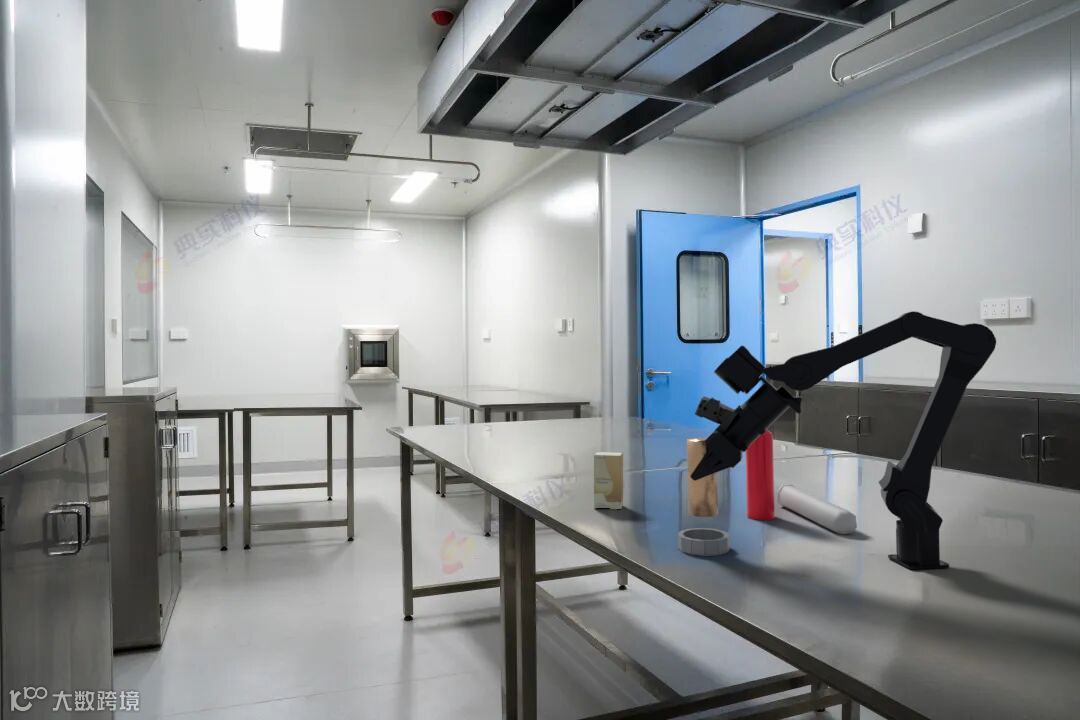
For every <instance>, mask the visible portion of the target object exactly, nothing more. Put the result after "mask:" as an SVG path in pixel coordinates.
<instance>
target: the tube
mask: <svg viewBox="0 0 1080 720" xmlns="http://www.w3.org/2000/svg"><path fill="white" fill-rule="evenodd" d="M776 503H777V504H778V505H780V506H782V507H783V508H786V509H789V510H791V511H792V512H795V513H796V514H799V515H800V516H803V517H805V518H806V519H808V520H810V521H813V522H815V523H816V524H818V525H820V526H823V527H825V528H826V529H828V530H830V531H832V532H834V533H836V534H839V535H851V534H852V533H853V532H854V531H855V530H856V529H857V528H858V526H857V525H858V524H857V516H856V515H855V514H854V513H852V512H851V511H850V510H848V509H846V508H844V507H841V506H839V505H838V504H837V505H836V504H835V503H832V502H830V501H828V500H826V499H823V498H821V497H819V496H816V495H815V494H812V493H809V492H807V491H805V490H802V489H801V488H798V487H796V486H795V485H793V484H791V483H790V484H781V485H780V487H779V489H778V490H777V492H776Z"/></svg>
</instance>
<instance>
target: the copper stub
mask: <svg viewBox="0 0 1080 720" xmlns="http://www.w3.org/2000/svg"><path fill="white" fill-rule="evenodd" d="M707 438H708V437H694V438H687V439H686V459H687V492H688V497H687V499H688V514H689V515H690V516H693V517H698V518H699V517H700V518H701V517H702V518H709V517H711V518H712V517H716V516H718V514H719V506H718V505H719V504H718V502H719V500H718V496H719V495H718V472H716V473H714V474H711V475H708V476H706V477H703V478H701V479H698V480H696V481H694V480H693V479H692V478H691V477H690V476H691V474H692V473H693V471H694V470H695V468H696V467H697V465H698V464H699V462H700V461H701V459H702V458H703V456H704V455H705V453H706V446H705V440H706V439H707Z"/></svg>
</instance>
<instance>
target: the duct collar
mask: <svg viewBox="0 0 1080 720" xmlns="http://www.w3.org/2000/svg"><path fill="white" fill-rule="evenodd" d="M730 536H731V535H730V533H728V532H727V531H724V530H719V529H718V528H717V529H716V528H707V527H698V528H697V527H696V528H694V527H693V528H686V529H682V530H680V531H679V532H678V533H677V547H678V550H680V552H682V553H685V554H688V555H693V556H701V557H702V556H703V557H706V556H707V557H708V556H709V557H710V556H712V557H713V556H720V555H724V554H727V553H729V551H730V549H731V544H730V543H731V541H730V540H731V537H730Z"/></svg>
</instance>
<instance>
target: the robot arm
mask: <svg viewBox="0 0 1080 720" xmlns="http://www.w3.org/2000/svg"><path fill="white" fill-rule="evenodd" d="M911 338H914V339H918V340H920V341H923V342H926V343H928V344H932V345H934V346H937V347H941V348H942V350H941V356H940V362H939V363H940V364H939V371H938V376H937V379H936V382H935V384H934V387H933V389H932V391H931V393H930V395H929V398H928V400H927V402H926V406H925V408H924V410H923V412H922V415H921V417H920V420H919V422H918V424H917V426H916V429H915V431H914V433H913V436H912V437H911V440H910V443H909V445H908V448H907V449H906V452H905V453H904V456H903V457H902V458H901V459H900V460H899V461H898V463H896V464H895V463H893V462H891V461H889V460H888V461H887V464H886V467H885V472H884V475H883V476H882V477H881V479H880V480H879V481H878V484H879V486H880V487H881V488H880V496H881V498H882V501H883V503H884V504H885V507H886V508H887V510H888V511H889V512H890V513H891V514H892V515H894V516H895V517H897V518H898V519H896V521H895V522H896V528H895V538H896V539H895V542H896V546H895V547H896V553H895V554H892V553H891V554H888V555H887V559H889V560H892V561H894V562H895V563H898V564H900V565H901V566H903V567H905V568H908V569H909V570H922V569H923V570H925V569H939V568H940V569H942V568H950V563H948V562H947V561H943V560H941V559H940V558H941V556H940V554H941V552H940V549H941V547H940V528H941V526H942V523H943V521H944V520H943V518H942V517H941V516H940V514H939V513H938V512H937V511H936V509H935V508H934V507H933V506H932V505H931V504H930V503H929V502H928V498H929V494H930V493H929V492H930V488H931V487H930V486H931V479H932V478H931V477H932V469H933V466H934V463H935V460H936V458H937V456H938V453H939V451H940V449H941V447H942V444H943V442H944V441H945V437H946V435H947V433H948V431H949V428H950V427H951V424H952V422H953V419H954V416H955V414H956V412H957V410H958V409H959V405H960V403H961V401H962V399H963V396H964V394H965V392H966V389H967V387H968V385H969V384H970V382H972V380H973V379H974V378H975V377H976V375H978V373H979V372H980V371H981V370H982V369H983V367H984V366H985V365H986V363H987V361H988V360H989V359H990V357H991V355H993V353H994V351H995V349H996V345H997V338H996V336H995V334H994V333H993V330H991V329H990V328H989V327H988V326H986V325H984V324H980V323H976V322H975V323H974V322H973V323H965V324H958V323H955V322H952V321H948V320H944V319H940V318H936V317H932V316H928V315H926V314H923V313H921V312H919V311H913V310H912V311H908V312H906V313H905V312H904V313H903V314H901V315H900V316H898V317H897V318H895V319H893V320H891V321H888V322H885V323H883V324H881V325H879V326H877V327H875V328H872V329H870V330H867V331H865V332H863V333H861V334H858V335H856V336H853V337H851V338H849V339H847V340H844V341H842V342H840V343H838V344H835V345H833V346H829V347H826V348H823V349H822V348H821V349H817V350H814V351H810V352H805V353H802V354H798V355H794V356H791V357H789V358H788V359H786V360H785V362H784V363H783V364H782V363H781V364H776V365H773V364H769V366H765V365H764V364H763V363H761V361H759V360H758V359H757V358H756V357H755V356H754V355H753V354H752V353H751V352H750V350H749V349H748V348H747V347H746V346H745V345H740V346H739V347H738V348H737V349H736V350H735V351H734V352H733V353H731V355H730V356H728V357H726V358H725V359H724V360H723V361H722V362H721V363H720V364H719V365H718V366H717V367H716V369H714V371H713V374H715V375H716V376H717V377H718V378H719V379H720V380H722V381H723V382H724V384H726V386H728V387H729V388H730V389H731V390H732V391H733V393H734V392H735V393H736V395H739V394H740V393H742V394H743V393H744V394H745V395H747V394H749V393H750V392H751V391H753V389H754V388H755V387H756V386H757V385H758V384H759V383H760V382H763V384H761V385H760V387H758V389H757V390H756V391H754V393H752V394H751V395H750V397H749V398H747V399H746V401H744V402H743V403H742V404H741V405H740V404H739V405H738V406H737V407H736V408H732V407H730V406H727V405H726V404H725V403H724V404H723V403H722V402H721V400H718V399H715V397H707V396H702V397H701V399H700V401H699V403H698V405H697V407H696V409H695V411H694V415H695V416H697V417H698V418H701V419H702V418H704V419H706V420H708V421H711V422H713V423H716V424H718V426H717V427H716V428H715V429H714V431H712V433H711V434H710V435H709V436H708V437H706V438H707V439H706V440H705V446H706V453H705V455H704V456H703V458H702V459H701V461H700V462H699V464H698V465H697V467H696V468H695V470H694V471H693V473H692V474H691V476H690V477H691V478H692V479H693V480H694V481H696V480H698V479H701V478H703V477H706V476H708V475H711V474H714V473H716V472H717V473H718V472H722V471H725V470H727V469H731V468H732V469H734V468H735V467H736V466H738V464H740V462H741V461H742V459H743V453H746V450H747V449H748V448H749V446H750V445H751V444H752V443H753V442H754V441H755V440H756V439H757V438H758V437H759V436H760V435H762V434H763V433H764V432H765V431H766V429H767V430H768V428H770V427H771V426H772V424H774V423H775V422H776V421H777V420H778V419H779V418H780V417H782V415H783V414H784V413H785V412H786V411H787V410H788V409H789V408H791V409H792V410H793V411H794V412H795V413H796V414H801V413H802V406H801V404H802V400H803V397H802V396H794V394H792V393H791V392H790V391H788V389H786V388H785V387H784V386H783V385H780V386H779V387H778V388H777V387H775V386H774V385H773V384H772V382H770V381H769V380H771V381H777V382H781V383H784V384H785V386H787V387H788V388H789V389H791V390H794V391H797V392H802V391H805V390H809V389H811V388H812V387H814V386H815V385H817V384H819V383H820V382H821V381H823V380H825V379H826V378H828V377H830V376H831V375H832V374H834V373H835V372H836V371H839V369H842V368H843V367H845V366H847V365H849V364H852V363H854V362H857V361H859V360H861V359H864V358H866V357H868V356H871V355H874V354H876V353H879V352H880V351H883V350H885V349H887V348H889V347H892V346H894V345H896V344H898V343H901V342H904V341H905V340H908V339H911ZM763 375H765V376H766V377H767V378H768V379H769V380H768V379H766V377H764V376H763Z"/></svg>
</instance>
